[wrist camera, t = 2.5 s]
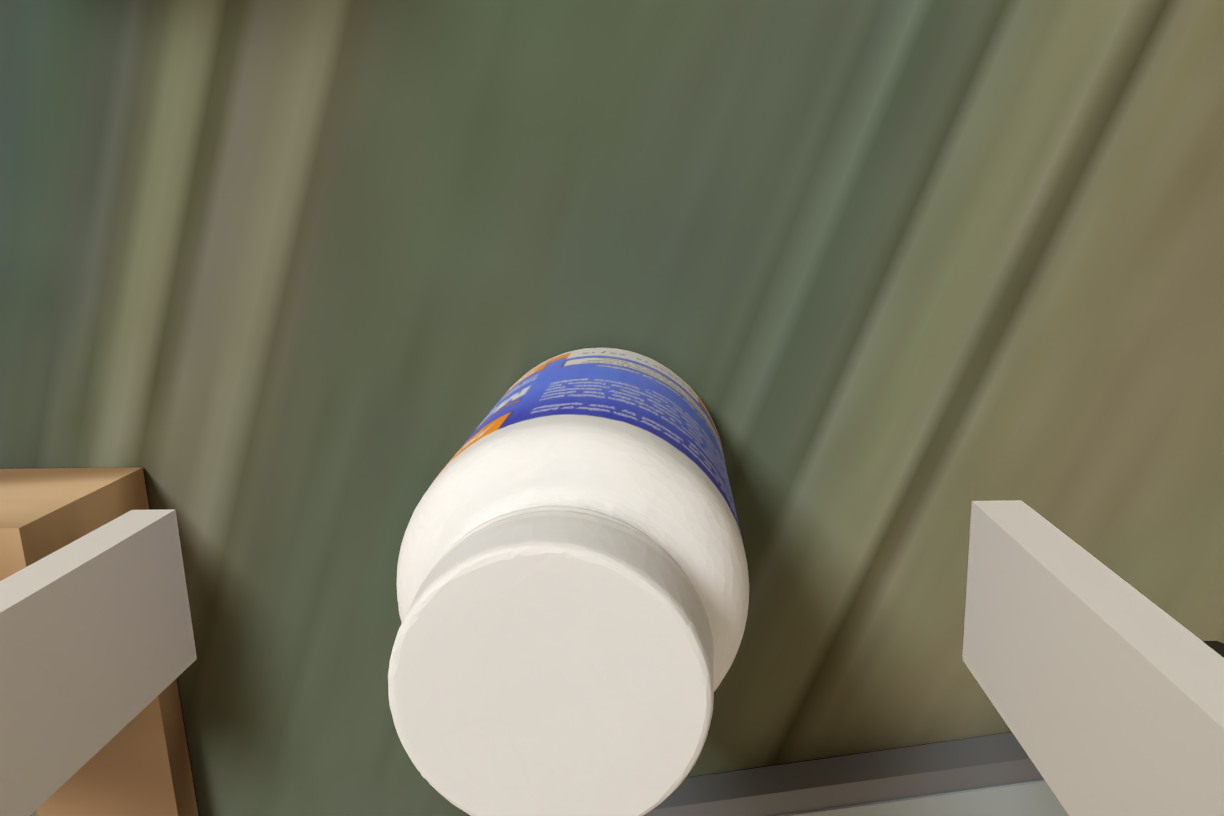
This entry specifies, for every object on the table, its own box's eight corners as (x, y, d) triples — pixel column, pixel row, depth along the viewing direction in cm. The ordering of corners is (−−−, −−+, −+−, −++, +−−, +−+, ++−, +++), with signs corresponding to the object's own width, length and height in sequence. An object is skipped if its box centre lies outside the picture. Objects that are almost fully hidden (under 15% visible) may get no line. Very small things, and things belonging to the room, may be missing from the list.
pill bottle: (511, 320, 19) (355, 430, 10) (749, 374, 19) (827, 539, 10) (468, 543, 20) (293, 833, 11) (691, 595, 20) (708, 933, 11)
